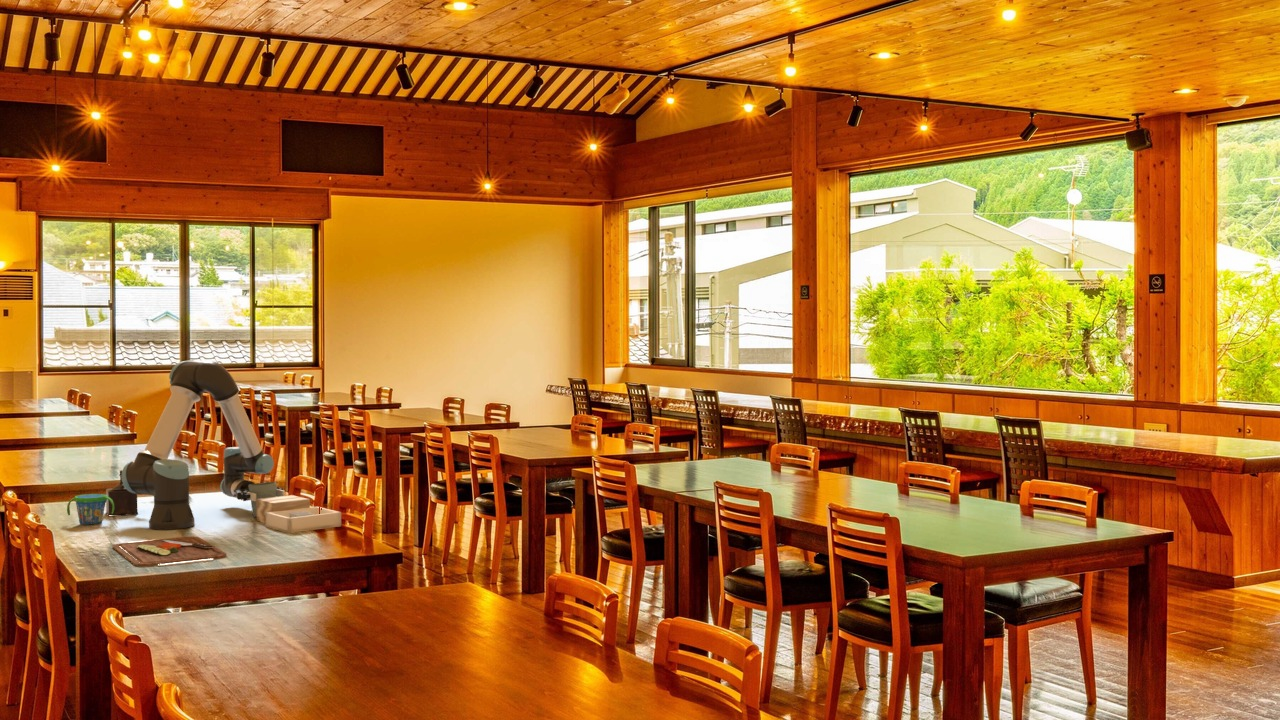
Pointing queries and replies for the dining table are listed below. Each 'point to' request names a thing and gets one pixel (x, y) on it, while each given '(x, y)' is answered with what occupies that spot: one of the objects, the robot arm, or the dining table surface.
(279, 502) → the block
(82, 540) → the dining table surface
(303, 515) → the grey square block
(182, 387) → the robot arm
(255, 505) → the grey green tapered cup
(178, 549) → the chopping board
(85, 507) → the snack cup
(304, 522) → the box
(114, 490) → the manual coffee grinder
